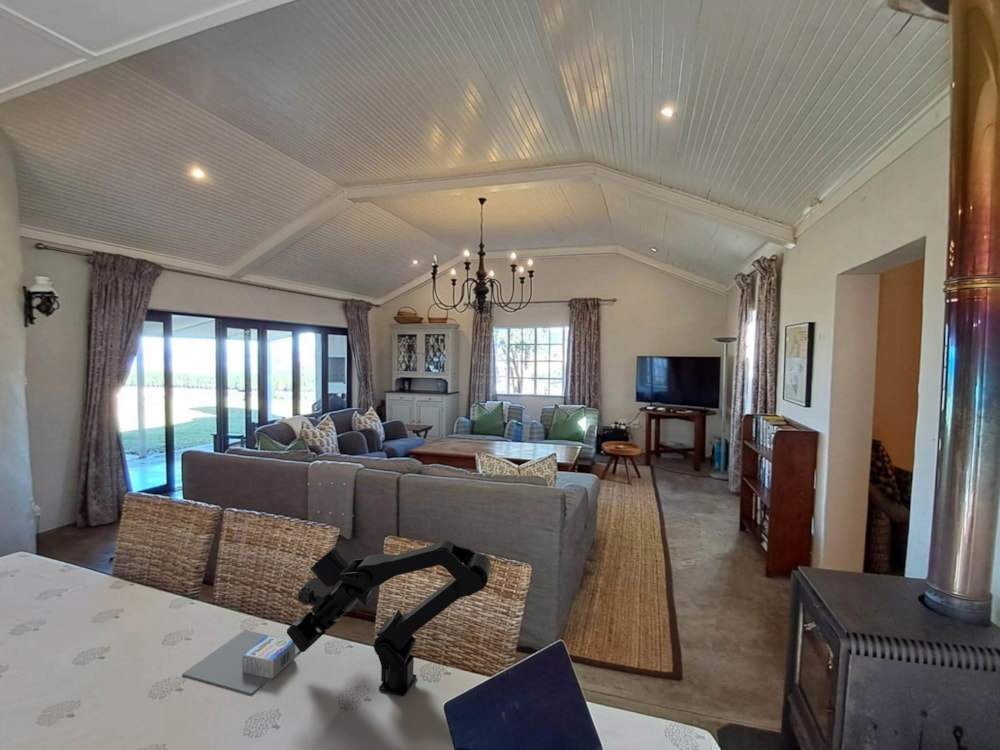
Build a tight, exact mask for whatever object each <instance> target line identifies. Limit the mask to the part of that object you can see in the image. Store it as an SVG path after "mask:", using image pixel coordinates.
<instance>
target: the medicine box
mask: <svg viewBox="0 0 1000 750" xmlns="http://www.w3.org/2000/svg"><path fill="white" fill-rule="evenodd" d="M271 636H272V635H270V636H265V637H264V638H263V639H261V640H260V641H259V642H258V643H257V644H255V645H254V646H253V647H252V648H250V649H249V650H248V651H247V652H246V653H244V654H243V657H242V672H243V673H247V674H252V675H257V676H262V677H267V678H270V679H274V678H275V677H276V676H277V675H278V674H279V673H280V672H282V671H283V669H284V668H286V666H288V665H289V664H290V662H292V661H293V660H294V659H295V658H296V656H295V644H294V642H293V641H292V639H286V638H281V637H278V638H276V637H277V636H274V637H271Z"/></svg>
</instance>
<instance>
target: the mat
mask: <svg viewBox="0 0 1000 750" xmlns="http://www.w3.org/2000/svg"><path fill="white" fill-rule="evenodd" d="M265 636H271V637H276V638H279V637H278V636H274V635H269V634H265V633H261V632H257V631H252V630H247V629H244V630H242V631H241V632H240V633H238V634H237V635H236V636H234V637H232V638H231V639H230V640H228V641H227V642H225V643H224V644H223V645H221V646H219V647H218V648H217V649H216V650H214V651H213V652H211V653H210V654H208V655H206V657H204V658H203V659H201V660H200V661H198V662H197V663H196V664H194V665H193V666H192V667H190V668H188V669H187V670H186V671H183V672H182V674H181V676H182V677H186V678H190V679H193V680H197V681H201V682H204V683H207V684H211V685H214V686H218V687H222V688H224V687H225V688H224V689H228V688H229V690H232V689H233V690H232V691H235V690H236V692H240V693H242V694H246V695H249V696H252V695H254V694H255V693H256V692H257V691H258V690H260V688H262V687H263V686H264V685H265V684H266V683H267V682H268V681H269V680H271V678H267V677H262V676H257V675H252V674H247V673H243V672H242V657H243V654H244V653H246V652H247V651H248V650H249V649H250V648H252V647H253V646H254V645H255V644H257V643H258V642H259V641H260V640H261V639H263V638H264V637H265ZM299 654H301V652H300V650H299V649H298V648H297V646H296V645H295V657H297V655H299Z"/></svg>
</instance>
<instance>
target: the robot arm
mask: <svg viewBox="0 0 1000 750" xmlns="http://www.w3.org/2000/svg"><path fill="white" fill-rule="evenodd" d="M436 566H441V567H442V568H444V569H445V570H446V571H447V572H448V573H449V574H450V575H451V576H452V578H451V579H449V580H448V581H447V582H446V583H444V585H442V586H441V587H440V588H438V589H437V590H436V591H435V592H433V593H432V594H431V595H429V596H428V597H427V598H425V599H424V600H422V601H421V602H420V603H419V604H418V605H417V606H415V607H414V608H413V609H411V610H410V611H409V612H407V613H402V612H401V610H400V609H398V610H397V611H396V612H394V614H392V615H391V616H388V617H387V618H386V619H385V621H384V622H383V624H382V626H381V627H380V628H379V630H378V632H377V633H376V636H377V637H376V638H375V639H374V642H373V649H374V652H375V654H376V655H377V657H378V659H379V663H380V665H381V666H380V667H381V668H380V671H381V673H380V681H381V684H380V685H379V687H378V690H379V691H381V692H385V693H389V694H394V695H397V696H401V697H404V696H405V695H406V694H407V692H408V691H409V690H410V688H411V686H412V685H413V684H414V682H415V680H417V675H416V674H414V664H415V663H414V657H415V656H414V655H412V654H411V652H412V651H413V650H414V649H413V648H414V647H415V645H416V643H417V639H416V638H415V637H414V634H415V633H416V632H418V631H419V630H420V629H421V628H423V627H424V626H426V625H427V624H428V623H429V622H431V620H433V619H435V617H437V616H438V615H440V614H441V613H442V612H443V611H444V610H446V609H447V608H449V607H451V605H453V604H454V603H455V602H457V601H458V600H459V599H461V598H465V597H471V596H472V595H474V594H476V593H478V592H480V591H482V590H483V589H485V587H486V586H487V584H488V581H489V577H490V575H491V571H492V564H491V560H490V559H489V558H488V556H487V555H484V554H483V553H477V552H475V551H474V550H471V549H470V548H467V547H463V546H460V545H456V544H455V543H453V542H451V541H448V540H444V541H443V540H442V541H441V542H439V543H436V544H432V545H428V546H424V547H420V548H417V549H412V550H409V551H406V552H405V551H404V552H402V553H397V554H387V553H375V554H370V555H367V556H366V557H364V558H355V559H354V558H353V559H352V560H351V561H350V563H348V562H347V561H346V560H345V559H344V557H343V556H341V554H340V553H339V551H338V550H337V549H336V548H335V547H333V548H331V550H329V551H328V552H326V553H325V555H323V556H322V557H321V558H320V559H318V561H317V562H316V563H314V564H313V565H312V567H311V568H310V571H311V572H312V573H313V574H314V575H315V576H316V577H313V578H311V579H310V580H309V581H307V582H306V583H305V584H303V586H302V587H301V588H300V590H299V591H298V592H297V594H298V597H297V600H298V601H299V603H301V604H303V605H304V606H308V605H311V606H312V607H311V608H310V610H311V611H309V612H308V613H307V614H306V615H303V616H301V617H300V618H298V619H297V620H295V621H294V623H292V624H291V625H290V626H288V628H287V629H286V634H287V636H289V638H290V640H292V641H293V642H294V644H295V645H296V646H297V648H298V649H299V650H300V653H305V652H306V651H307V650H308V649H309V648H311V646H313V645H314V644H315V642H317V641H318V640H319V639H320V638H321V637H322V636H323V635H324V634H326V633H327V631H326V630H330V629H331V628H332V627H334V625H336V624H337V623H338V621H339V620H340V619H341V618H342V617H343V616H344V615H347V614H348V613H349V612H350V611H352V610H353V609H354V608H355V607H356V604H357V602H358V601H359V602H361V603H362V605H363V606H366V605H368V603H369V601H370V600H371V599H372V598H373V597H374V594H373V593H374V592H373V589H374V588H376V587H379V586H380V585H382V584H385V583H386V582H387V581H389V580H390V579H392V578H395V577H396V576H397V577H398V576H401V575H405V574H409V573H413V572H417V571H421V570H426V569H429V568H432V567H436ZM339 581H340V582H341V583H339ZM337 583H339V584H338V585H337V586H336V584H337ZM331 586H332V587H334V588H332V587H331ZM335 586H336V587H335Z"/></svg>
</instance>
